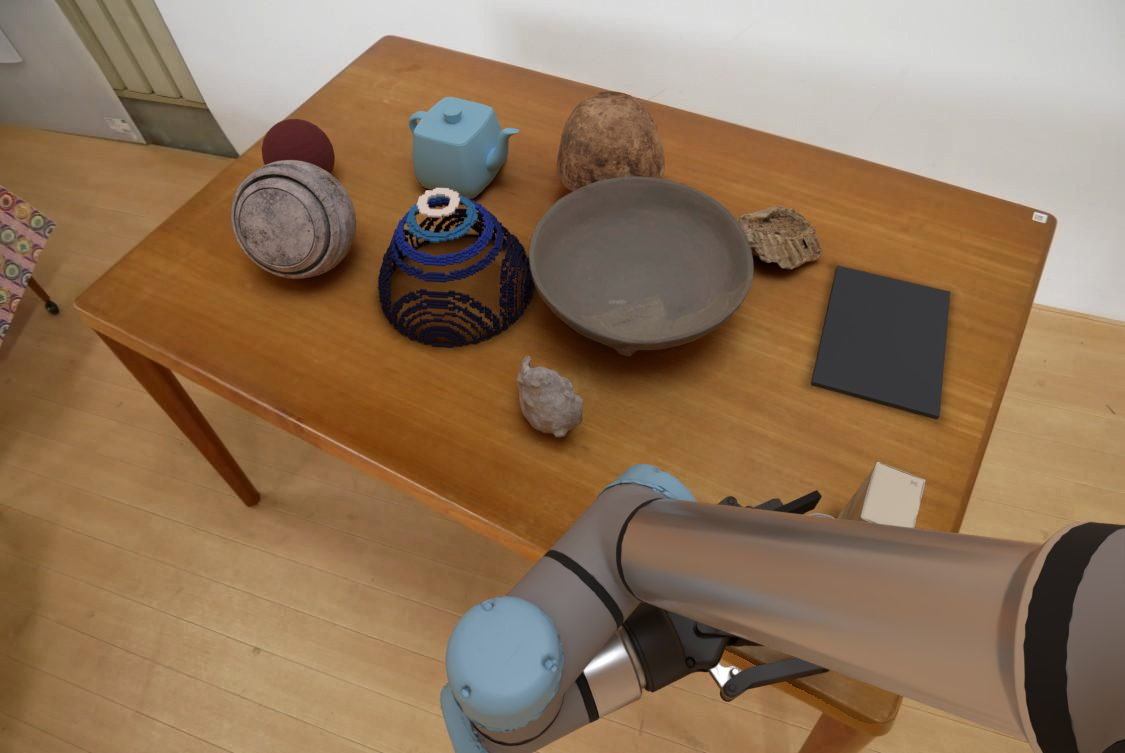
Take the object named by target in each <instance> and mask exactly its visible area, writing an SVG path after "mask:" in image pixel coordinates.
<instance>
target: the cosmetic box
mask: <svg viewBox="0 0 1125 753" xmlns="http://www.w3.org/2000/svg"><path fill="white" fill-rule="evenodd" d="M925 485H926V479H925V478H922V477H920V476H917V475H915V474H912V473H910V472H907V471H904V470H902V469H899V468H896V467H894V466H892V465H889V464H885V463H883V462H880V461H878V462H877V461H876V463H875V465H874V466H873V468H872V469H871V470H870V472H869V473H868V475H867V476H866V478H864V480H863V481H862V483H861V484H860V486H859V487H858V488H857V489H856V491H855V492H854V494H853V495H852V496H851V498H850V499H849V500H848V502H847V503H846V505H845V506H844V507H843V508H842V510H841V511H840V513H839V514H838V515H837V516H836V519H844V520H852V521H861V522H869V523H877V524H886V525H894V526H902V527H911V528H916V527H915V526H916V523H917V518H918V515H919V511H920V507H921V503H922V502H921V501H922V498H923V494H924V490H925Z"/></svg>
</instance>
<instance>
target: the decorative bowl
mask: <svg viewBox="0 0 1125 753" xmlns="http://www.w3.org/2000/svg"><path fill="white" fill-rule="evenodd" d="M461 205H462V206H464V207H465V208H460V206H461ZM443 206H445V207H443ZM442 207H443V208H442ZM417 215H421V216H426V217H425V218H424V219H423V220H422V221H421V222H420V223H419V224H418V222H417ZM441 218H442V219H441ZM440 219H441V220H440ZM439 220H440V221H439ZM438 221H439V222H438ZM437 222H438V223H437ZM435 223H436V224H435ZM405 225H406V227H407V229H406V228H405ZM443 226H444V227H443ZM432 227H434V229H433V230H431V229H432ZM452 227H453V228H452ZM451 228H452V229H451ZM471 230H472V231H474V232H476V234H475V233H473V234H472V233H468V232H470V231H471ZM464 237H465V238H466V237H467V238H477V241H474V244H469V247H466V248H462V249H461V251H456V253H452V252H451V253H450V252H447V253H446V254H439V255H432V254H431V253H426V252H425V251H418V249H420V248H422V247H423V246H427V245H429V244H434V243H435V244H440V242H447V241H454V240H459V239H463V238H464ZM413 238H415V240H414V239H413ZM419 240H423V241H421V242H420V241H419ZM409 241H410V243H409ZM489 241H490V242H492V241H493V242H494V244H493V247H491V248H490V250H488V251H487V254H485V255H484V257H482V258H481V259H479V260H477V261H476V263H472V264H471V265H468V266H467V267H466V268H461V269H454V271H453V270H452V271H451V270H450V271H448V272H449V273H448V274H447V273H445V272H438V271H437V272H436V271H426V272H425V273H424V270H423V269H420V268H419V267H416V266H415V265H408V262H404V260H405V259H406V258H408V259H409V260H410V261H411V260H412V262H416V263H417V264H423V266H428V267H429V266H431V267H433V266H434V267H447V266H454V265H455V264H457V265H458V264H459V265H461V264H462V263H464V261H465V262H468V261H469V260H472V259H473V258H475V257H477V256H479V255H480V252H481V253H482V252H483V251H485V249H486V246H489ZM415 244H416V245H415ZM503 246H505V247H506V250H505V254H504V258H502V259H501V266H500V274H499V285H501V287H500V286H499V291H498V292H499V294H501V296H499V297H498V307H499V310H498V311H499V313H498V315H499V317H498V315H497V314H495V313H494V312H493V310H492V308H490V307H489V306H488V307H487V305H483V303H482V302H480V300H475V297H471V296H470V294H466V293H465V294H464V293H463V292H457V291H456V290H448V291H435V290H428V289H426V288H420V289H419V290H416V289H415V291H409V292H408V293H403V294H404V295H402V296H400V297H399V299H397V300H396V301H395V302H393V305H392V299H391V298H392V296H391V291H392V290H391V288H392V287H391V285H392V283H391V282H392V281H391V279H392V278H391V277H392V275H393V272H394V271H395V272H396V269H397V267H398V269H400V271H402V273H405V274H406V275H407V276H409V277H413V278H415V279H418V281H419V280H421V281H424V282H428V283H445V284H447V283H448V282H455V281H461V280H462V279H467V278H469V277H470V276H471V277H474V276H475V275H476V274H477V273H480V272H482V270H485V269H487V267H488V266H490V264H493V261H496V256H497V257H498V256H499V252H502V249H503ZM525 248H526V247H524V245H523V244H522V243H521V242H520V239H519V238H518V237H517V236H516V235H515V234H513V233H511V231H509V228H507V227H506V226H504V225H503V222H501V221H499V220H498V217H496V215H495V214H493V212H491V211H490V210H488V208H486V207H485V206H482V203H479V202H476V201H474V200H471V199H467V197H463V196H462V195H459V193H457V192H456V191H453V190H449V188H435V189H433V190H430V189H428V190H425V191H424V194H421V195H419V197H418V199H417V201H416V203H413V206H410V208H409V210H408V211H407V212H406V213H405V215H403V216H402V218H401V219H399V220H398V223H397V226H396V228H395V229H394V231H393V235H392V237H391V240H390V242H389V245H388V247H387V248H386V250H385V253H383V257H382V262H381V266H380V268H379V274H378V277H377V282H378V283H377V289H378V293H379V295H378V298H379V303H380V304H381V310H382V312H383V314H384V317H385V318H386V319H387V321H388V323H389V325H392V326H393V329H394V330H397V332H399V333H400V335H402V336H404V337H407V338H408V339H409V340H410V341H417V343H421V344H422V343H423V345H428V346H429V345H430V346H431V347H435V348H449V349H450V348H452V349H453V348H454V347H463V346H469V345H478V343H481V342H485V341H486V340H487V341H488V340H490V339H492V337H493V338H494V337H495V336H499V334H502V331H503V332H504V331H506V330H508V329H509V327H511V326H512V325H514V324H516V321H518V320H519V318H521V316H524V311H525V310H527V306H528V305H530V301H531V300H532V299H533V294H534V289H535V284H534V282H533V278H532V275H531V270H530V262H529V256H528V255H527V251H526V249H525ZM508 263H509V264H508ZM507 264H508V265H507ZM512 268H513V270H512ZM520 272H521V277H520ZM509 273H510V274H509ZM519 278H520V287H519ZM514 280H515V281H514ZM519 288H520V289H519ZM518 294H519V296H518ZM424 296H425V297H427V298H424V299H423V297H424ZM518 297H519V303H520V304H519V303H518ZM449 298H452V301H451V299H449ZM419 299H420V300H419ZM417 301H419V302H417ZM411 302H415V305H412V306H408V307H407V308H406V309H405V310H403V307H404V306H405V305H409V304H410V303H411ZM456 302H457V303H461V304H462V305H468V306H464V307H463V306H461V305H460V304H457V303H456ZM518 304H519V305H518ZM468 307H469V308H471V309H472V310H476V311H478V313H479V314H482V315H483V316H484V319H486V320H488V321H489V322H487V321H485V320H483V316H482V315H481V316H478V315H477V314H475V313H474V312H473V311H471V310H470V309H469V308H468ZM518 307H520V310H518ZM428 309H429V310H430V309H432V310H447V312H444V313H433V312H432V311H429V310H428ZM401 310H403V311H401ZM400 311H401V312H400ZM421 311H422V312H421ZM456 312H457V313H456ZM400 313H401V314H400ZM460 313H461V315H459V314H460ZM398 314H400V316H399V317H398ZM412 314H413V315H412ZM513 314H515V315H513ZM411 315H412V316H411ZM426 315H429V316H430V317H433V318H422V317H426ZM445 316H448V317H451V318H457V319H458V320H460V322H461V321H462V322H463V323H465V324H466V325H470V329H473V330H474V331H475V333H476V334H474V333H472V330H470V329H469V328H468V327H467V326H464V324H462V323H457V322H456V321H454V320H453V319H443V318H445ZM409 317H410V318H409ZM500 317H501V319H500ZM406 318H408V319H406ZM418 318H419V321H417V322H415V323H413V322H414V321H415V320H417V319H418ZM501 320H502V321H501ZM412 323H413V324H412ZM431 323H436V324H435V325H434V324H431ZM489 323H490V324H491V325H490V324H489ZM427 324H429V326H427ZM437 324H449V325H437ZM501 324H502V325H501ZM404 325H405V326H404ZM476 325H477V326H476ZM423 326H425V327H424V328H421V327H423ZM491 326H492V327H491ZM453 327H455V328H456V329H458V330H456V329H455V328H453ZM479 328H480V329H482V331H481V330H479ZM419 329H420V330H419ZM418 330H419V333H418V334H416V333H417V331H418ZM461 332H463V333H465V334H466V335H464V334H463V333H461ZM482 332H485V334H484V335H483V334H482ZM477 334H478V335H477ZM466 336H469V338H471V340H467V339H466ZM438 338H444V339H445V340H447V341H448V342H441V341H435V340H436V339H438Z"/></svg>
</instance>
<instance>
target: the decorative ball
mask: <svg viewBox="0 0 1125 753" xmlns="http://www.w3.org/2000/svg"><path fill="white" fill-rule="evenodd" d="M261 158H262V162H263V166H265V165H267V164H270V163H273V162H277V161H283V160H297V161H303V162H307V163H310V164H313V165H316V166H318V167H320V168H322V169H324V170H325V171H327V172H329V173H330V174H331V175H332V173H333V171H334V167H335V163H336V162H335V159H336V156H335V151H334V146H333V144H332V142H331V140H330V138H329V136H328V135H327V134H326V133H325V132H324V131H323V129H322V128H320V127H319V126H318V125H316V124H314V123H312V122H311V121H308V120H305V119H300V118H288V119H284V120H281V121H279V122H277V123H275V124H274V125H272V127H270V128H269V130H268V131H267V132H266V134H265V136H264V137H263V139H262V145H261Z"/></svg>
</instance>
